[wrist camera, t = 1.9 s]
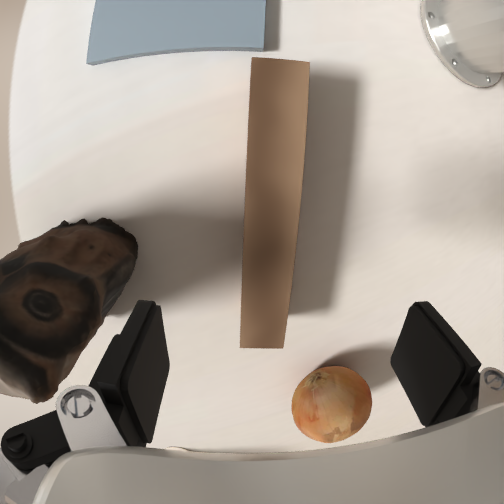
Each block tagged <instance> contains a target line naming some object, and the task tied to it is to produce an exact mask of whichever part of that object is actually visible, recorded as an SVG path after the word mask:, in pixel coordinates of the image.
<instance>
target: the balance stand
mask: <svg viewBox="0 0 504 504" xmlns="http://www.w3.org/2000/svg"><path fill="white" fill-rule="evenodd" d="M265 7H266V0H96V2H95V7H94V13H93V18H92V24H91V30H90V37H89V45H88V53H87V62H86V64H89V65H97V64H101V63H106V62H111V61H116V60H122V59H128V58H134V57H141V56H149V55H157V54H167V53H178V52H194V51H260V52H263V49H264V30H265Z"/></svg>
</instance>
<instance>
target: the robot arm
mask: <svg viewBox="0 0 504 504" xmlns="http://www.w3.org/2000/svg"><path fill="white" fill-rule="evenodd" d="M420 9H421V19H422V24H423V28H424V30H425V33H426V36H427V38H428V40H429V42H430V44H431V46H432V48H433V49H434V51H435V52H436V54H437V56H438V57H439V58H440V60H441V61H442V62H443V64H444V65H445V66H446V67H447V68H448V69H449V70H450V71H451V72H452V73H453V74H454V75H455V76H456V77H458V78H459V79H460V80H462V81H463V82H465V83H467V84H469V85H472V86H475V87H489V86H492V85H494V84H495V83H496V82H497V81H498V80H499V79H500V77H501V75H502V72H504V0H422V2H421V8H420ZM391 366H392V368H393V370H394V371H395V373H396V375H397V377H398V379H399V381H400V383H401V385H402V386H403V388H404V390H405V392H406V394H407V396H408V398H409V400H410V402H411V404H412V406H413V408H414V410H415V412H416V414H417V416H418V418H419V420H420V422H421V424H422V425H423V426H425V427H426V428H423V429H419V430H416V431H412V432H408V433H404V434H400V435H396V436H392V437H388V438H383V439H379V440H374V441H369V442H364V443H358V444H353V445H347V446H340V447H333V448H325V449H317V450H307V451H295V452H281V453H207V452H191V451H179V450H169V449H157V448H146V443H151V442H152V439H153V435H154V430H155V426H156V422H157V417H158V413H159V409H160V405H161V401H162V397H163V393H164V389H165V385H166V381H167V377H168V373H169V367H170V363H169V356H168V351H167V345H166V339H165V332H164V326H163V319H162V312H161V307H160V306H158V305H156V303H155V302H154V301H144V300H139V301H138V302H137V304H136V306H135V308H134V309H133V311H132V313H131V315H130V317H129V319H128V321H127V322H126V324H125V326H124V328H123V330H122V332H121V334H116V335H115V336H114V337H113V339H112V341H111V343H110V344H109V346H108V348H107V350H106V352H105V354H104V356H103V358H102V360H101V362H100V364H99V366H98V368H97V370H96V372H95V374H94V376H93V378H92V380H91V382H90V384H89V386H85V385H76V386H71V387H69V388H67V389H65V390H64V391H63V392H62V393H61V394H60V395H59V397H58V398H57V401H56V410H55V411H53V412H50V413H48V414H45V415H42V416H40V417H37V418H35V419H32V420H30V421H27V422H25V423H22V424H19V425H17V426H14V427H12V428H10V429H9V430H7V431H6V432H5V434H4V435H3V437H2V441H1V448H0V504H504V373H503V372H501V371H500V370H498V369H496V368H492V367H487V368H484V369H483V370H482V371H481V373H479V372H478V370H479V368H480V366H481V363H480V361H479V360H478V359H477V358H476V356H475V355H474V354H473V353H472V351H471V350H470V349H469V348H468V346H467V345H466V344H465V343H464V342H463V340H462V339H461V338H460V337H459V336H458V334H457V333H456V332H455V331H454V330H453V329H452V327H451V326H450V325H449V324H448V323H447V322H446V321H445V319H444V318H443V317H442V316H441V315H440V314H439V313H438V312H437V311H436V309H435V308H434V307H433V306H432V305H431V304H430V303H429V302H427V301H424V302H415V303H414V304H413V305H412V306H411V307H410V308H409V310H408V313H407V316H406V319H405V322H404V325H403V328H402V330H401V333H400V336H399V338H398V341H397V344H396V346H395V349H394V351H393V354H392V356H391Z"/></svg>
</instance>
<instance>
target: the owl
mask: <svg viewBox="0 0 504 504" xmlns="http://www.w3.org/2000/svg"><path fill="white" fill-rule="evenodd" d="M137 250H138V244H137V241H136V239H135V237H134V236H133V235H132V234H130V233H128V232H126V231H125V229H124V228H122V227H120V226H119V225H117V224H115V223H114V222H113V221H112V220H110V219H106V218H101V219H99V220H97V221H96V222H94V223H91V224H88V222H87V221H86V220H85V219H81V220H80V221H79V222H77V223H74V224H70V225H69V223H68V222H66V221H63V222H61V224H60V225H59V226H57V227H55V228H52V229H50V230H49V231H48V232H46V233H44V234H43V235H41V236H39V237H37V238H35V239H32V240H29V241H25V242H22V243H20V244H19V246H18V249H17V250H15V251H13V252H11V253H9V254H8V255H6V256H5V257H4V258H2V259H1V260H0V394H4V395H8V396H12V397H21V398H25V399H30V400H31V401H32V402H33V403H36V404H38V403H39V402H45V401H47V400H49V399H50V398H52V397H53V395H54V394H55V393H56V392H57V391H58V385H59V384H60V383H61V382H62V381H63V380H64V379H65V378H66V377H67V376H68V375H69V373H70V372H71V370H72V368H73V367H74V365H75V363H76V361H77V360H78V358H79V356H80V354H81V352H82V351H83V350H84V349H85V347H86V346H87V345H88V343H89V341H90V340H91V339H92V338H93V337H94V335H95V334H96V332H97V329H98V328H99V327H100V326H101V325H102V324H103V322H104V318H105V316H106V314H107V312H108V311H109V310H110V309H111V308H112V306H113V305H114V303H115V302H116V300H117V298H118V297H119V296H120V295H121V293H122V291H123V289H124V287H125V285H126V283H127V282H128V280H129V279H130V277H131V275H132V272H133V270H134V267H135V262H136V259H137Z"/></svg>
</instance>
